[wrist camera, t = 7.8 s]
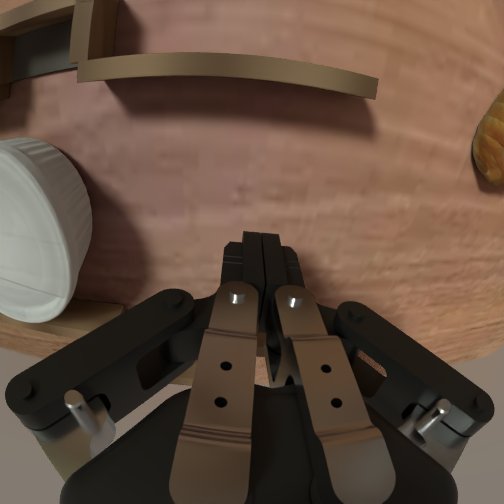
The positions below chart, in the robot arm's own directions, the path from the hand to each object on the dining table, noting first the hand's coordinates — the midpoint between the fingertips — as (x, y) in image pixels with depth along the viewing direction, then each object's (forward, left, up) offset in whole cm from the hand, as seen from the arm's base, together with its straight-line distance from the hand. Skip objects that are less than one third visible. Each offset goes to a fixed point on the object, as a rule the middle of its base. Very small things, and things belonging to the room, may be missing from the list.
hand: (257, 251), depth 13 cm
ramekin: (+14, 0, -5) cm, 15 cm away
